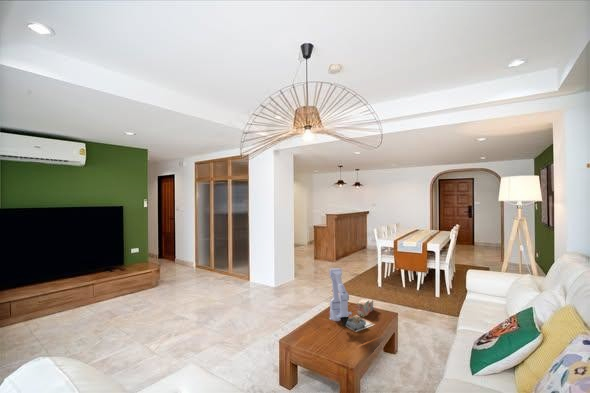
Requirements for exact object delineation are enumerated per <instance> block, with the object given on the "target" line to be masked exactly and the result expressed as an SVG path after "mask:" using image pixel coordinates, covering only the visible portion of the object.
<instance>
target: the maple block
mask: <svg viewBox="0 0 590 393" xmlns="http://www.w3.org/2000/svg"><path fill="white" fill-rule="evenodd" d="M352 317H353V322H354V323H355V324H358V323H360V318H361V316H358V315H357V314H355V315H352Z"/></svg>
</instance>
